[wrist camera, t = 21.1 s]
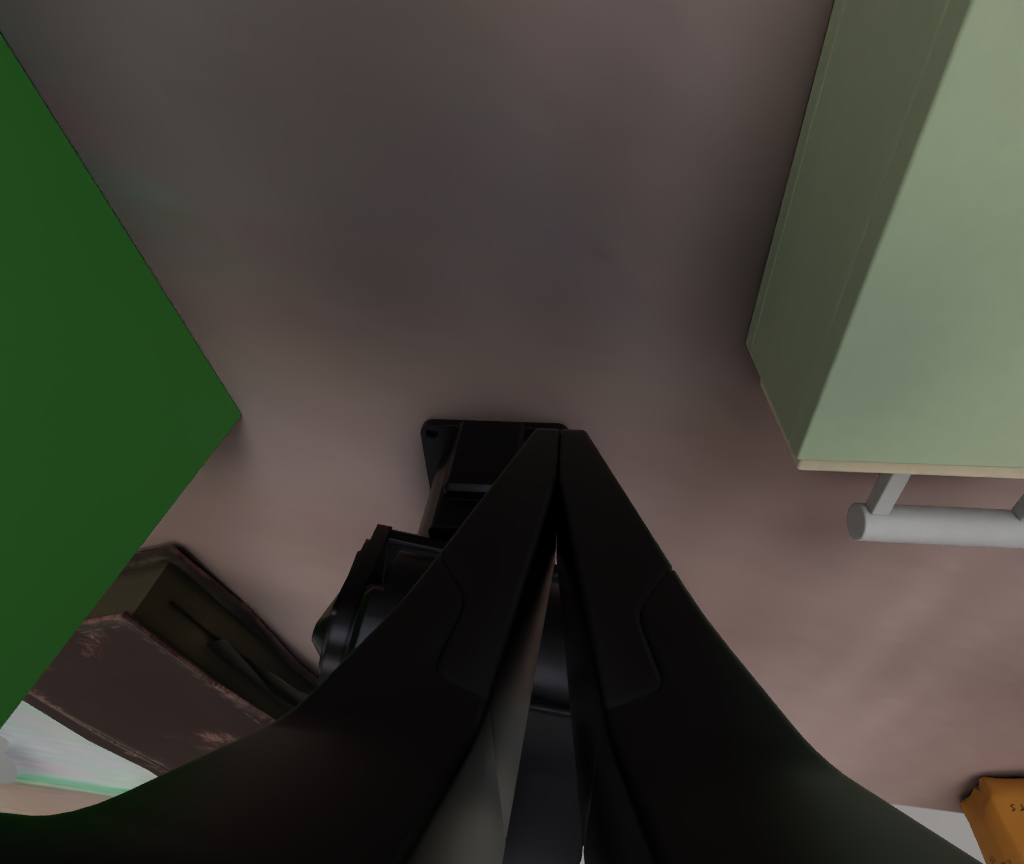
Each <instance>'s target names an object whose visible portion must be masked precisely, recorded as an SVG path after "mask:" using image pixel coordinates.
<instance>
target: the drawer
mask: <svg viewBox="0 0 1024 864" xmlns="http://www.w3.org/2000/svg"><path fill="white" fill-rule="evenodd" d="M760 385H761V387H762V390H763V392H764V394H765V397H766V399H767V401H768V403H769V406H770V408H771V410H772V413H773V415H774V417H775V419H776V422H777V424H778V426H779V429H780V431H781V433H782V436H783V438H784V440H785V442H786V445H787V447H788V449H789V452H790V454H791V456H792V458H793V461H794V463H795V465H796V468H797V469H799V470H817V471H842V472H867V473H881V474H880V476H879V478H878V480H877V482H876V484H875V486H874V488H873V490H872V491H871V493H870V495H869V497H868V499H867V501H866V503H855V504H853V505H851V507H850V508H849V510H848V514H847V527H848V531H849V533H850V535H851V537H852V538H853V539H855V540H857V541H872V542H892V543H912V544H932V545H951V546H971V547H991V548H1011V549H1024V494H1023V495H1022V497H1021V498H1020V499H1019V501H1018V502H1017V503H1016V505H1015V506H1014V507H1013V509H1012V510H1005V509H982V508H959V507H937V506H914V505H894V504H895V502H896V501H897V499H898V497H899V495H900V494H901V492H902V490H903V488H904V487H905V485H906V483H907V481H908V480H909V478H910V476H911V474H918V475H943V476H969V477H994V478H1020V479H1024V468H1007V467H981V466H954V465H928V464H901V463H875V462H848V461H822V460H799V459H797V458H796V456H795V454H794V452H793V450H792V447H791V445H790V441H788V439H787V436H786V434H785V432H784V430H783V427H782V425H781V423H780V421H779V418H778V416H777V414H776V412H775V409H774V407H773V405H772V403H771V400H770V398H769V396H768V394H767V391H766V389H765V387H764V385H763V382H762V380H761V382H760Z"/></svg>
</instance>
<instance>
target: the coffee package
mask: <svg viewBox="0 0 1024 864" xmlns="http://www.w3.org/2000/svg"><path fill="white" fill-rule="evenodd" d="M979 783H980V784H979V786H976V787H974V788H973V791H972V793H971V795H970V796H969V797H967V798H965V800H963V801H961V808H962V811H963V813H964V814H965V816H966V818H967V820H968V821H969V823H970V826H971V828H972V831H973V833H974V836H975V838H976V840H977V842H978V845H979V847H980V850H981V852H982V854H983V857H984V860H985V862H986V864H1024V778H1018V779H1005V778H992V777H981V778H980V779H979Z"/></svg>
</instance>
